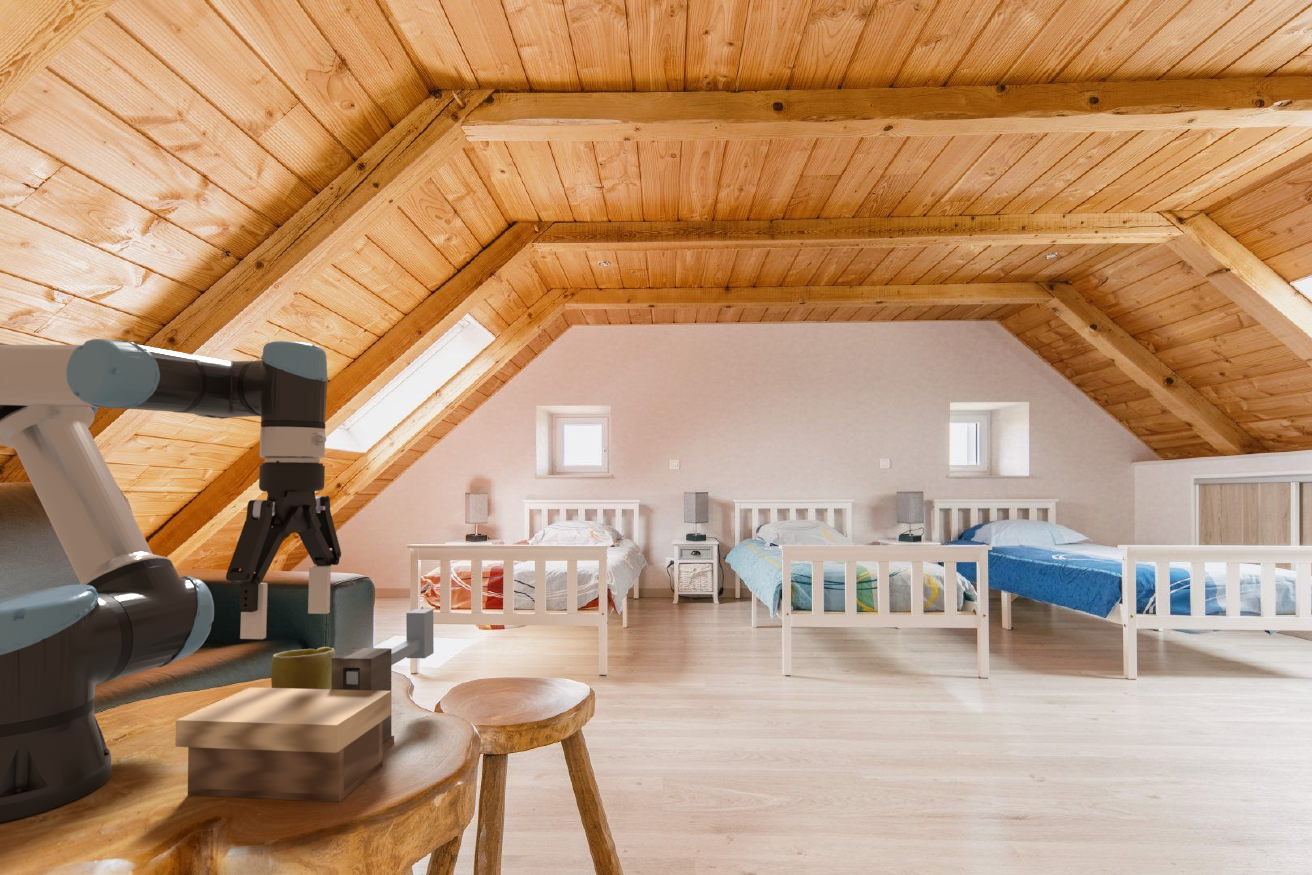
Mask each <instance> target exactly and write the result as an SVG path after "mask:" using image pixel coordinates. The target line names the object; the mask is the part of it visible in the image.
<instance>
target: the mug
mask: <svg viewBox="0 0 1312 875" xmlns="http://www.w3.org/2000/svg"><path fill="white" fill-rule="evenodd" d="M335 656H336V650H335V648H334V647H329V646H322V647H318V648H317V649H315V648H307V649H306V648H304V649H293V650H286V651H282V652H278V653H274V654H273V655H272V659H271V670H270V671H271V672H270V679H271V688H294V689H331V664H332V658H333V657H335Z"/></svg>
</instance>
